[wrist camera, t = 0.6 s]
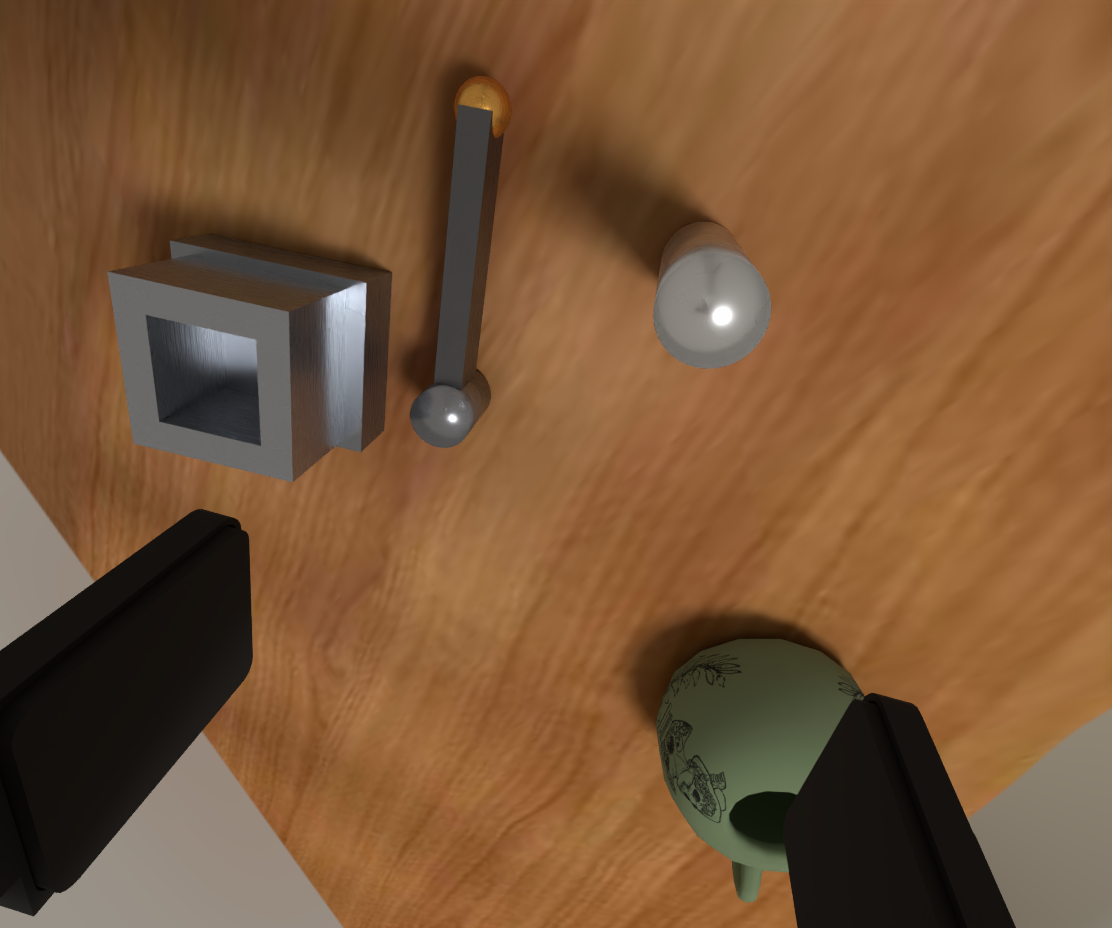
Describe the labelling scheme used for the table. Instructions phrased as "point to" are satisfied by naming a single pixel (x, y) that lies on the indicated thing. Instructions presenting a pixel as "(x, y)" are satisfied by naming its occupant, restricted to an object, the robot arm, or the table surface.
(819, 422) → the table surface
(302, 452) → the block
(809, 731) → the mug
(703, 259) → the rod
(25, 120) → the table surface
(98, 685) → the robot arm
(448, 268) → the lever
